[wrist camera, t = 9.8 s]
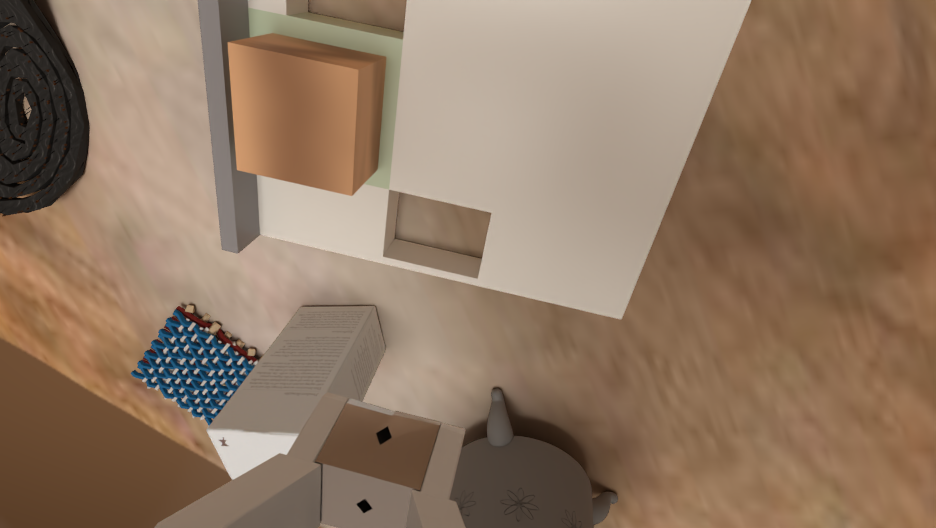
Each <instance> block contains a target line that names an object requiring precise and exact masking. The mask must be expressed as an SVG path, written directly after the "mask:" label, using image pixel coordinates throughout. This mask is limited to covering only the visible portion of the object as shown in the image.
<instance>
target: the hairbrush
mask: <svg viewBox="0 0 936 528" xmlns="http://www.w3.org/2000/svg"><path fill="white" fill-rule="evenodd" d="M9 23H15V24H16V25H17V26H12V25H8V24H9ZM6 25H8V26H6ZM5 26H6V27H5ZM3 27H4V28H3ZM1 28H2V29H1ZM12 47H18V48H19V49H16V48H12ZM22 48H23V49H22ZM7 51H8V53H7V54H6V52H7ZM5 54H6V55H5ZM66 58H67V59H68V61H69V62H70V64H71V65H72V67H73V69H74V71H75V74H76V76H77V78H76V76H75V74H74V73H73V71H72V69H71V67H70V65H69V63H68V61H67V59H66ZM18 77H21V78H27V79H15V78H18ZM77 79H78V80H77ZM78 81H79V82H78ZM24 93H25V96H26V98H27V100H28V102H29V105H30V107H31V109H32V111H31V114H30V117H29V119H28V120H27V118H26V116H25V115H26V114H27V113H26V114H25V113H24V110H23V107H22V103H23V99H24V97H25V96H24ZM23 106H24V104H23ZM30 107H29V108H30ZM29 108H28V109H29ZM26 110H27V109H26ZM29 112H30V111H29ZM29 112H28V113H29ZM24 116H25V118H24ZM25 119H26V121H25ZM25 122H27V124H25ZM88 138H90V137H89V121H88V115H87V109H86V103H85V97H84V92H83V90H82V86H81V82H80V79H79V75H78V72H77V70H76V68H75V66H74V64H73V62H72V60H71V58H70V57H69V55H68V53H67V52H66V50H65V48H64V47H63V45H62V43H61V42H60V40H59V39H58V37H57V35H56V34H55V32H54V31H53V29H52V27H51V26H50V24H49V23H48V21H47V20H46V18H45V17H44V15H43V14H42V12H41V11H40V9H39V8H38V6H37V5H36V3H35V2H34V0H0V214H1V213H2V214H3V216H6V215H11V214H17V213H23V212H25V213H29V212H32V211H35V210H40V209H41V208H44V207H47V206H50V205H52V204H53V203H54V202H55V201H56V200H57V199H58V198H59V197H60V196H61V195H62V194H63V193H64V192H65V191H66V190H67V189H68V188H69V187H70V186H71V185H72V184H73V183H74V182H75V181H76V180H77V179H78V178H80V177H81V176H82V175H83V171H84V167H85V162H86V158H87V152H88V146H87V145H89V142H88ZM28 157H30V159H28V160H25V161H22V160H21V159H25V158H28ZM37 175H38V176H37ZM36 176H37V177H36ZM34 177H35V178H34ZM27 180H29V181H27ZM20 181H27V182H25V183H23V184H17V182H20ZM50 184H51V185H50ZM49 185H50V186H49ZM48 186H49V187H48ZM42 189H43V190H42ZM39 190H42V191H40V192H38V193H36V194H34V195H32V196H29V197H25V198H17V197H18V196H23V195H26V194H30V193H33V192H36V191H39ZM3 216H2V217H3Z"/></svg>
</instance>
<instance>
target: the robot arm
mask: <svg viewBox="0 0 936 528" xmlns="http://www.w3.org/2000/svg"><path fill="white" fill-rule="evenodd" d="M464 436H465V429H464V428H460V427H456V426H453V425H449V424H445V423H442V424H441V422H439V421H435V420H431V419H427V418H423V417H419V416H415V415H411V414H407V413H403V412H399V411H392V410H389V409H385V408H382V407H379V406H375V405H372V404H368V403H365V402H362V401H358V400H355V399H351V398H347V397H344V396H340V395H337V394H333V393H329V392H327V393H325V394H324V395H323V396H322V397H321V399H320V400H319V402H318V404H317V405H316V407H315V408H314V410H313V412H312V413H311V415H310V417H309V418H308V420H307V422H306V423H305V425H304V427H303V428H302V430H301V432H300V433H299V435H298V437H297V438H296V440H295V442H294V443H293V445H292V447H291V448H290V450H289V452H288V453H287V455H285V454H281V453H279V454H277V455H275V456H274V457H272V458H270V459H268V460H267V461H265V462H263V463H261V464H260V465H258V466H256V467H254V468H253V469H251V470H249V471H248V472H246V473H244V474H242V475H241V476H239V477H237V478H235V479H234V480H232V481H231V482H229V483H227V484H225V485H223V486H222V487H220V488H218V489H216V490H215V491H213V492H211V493H209V494H208V495H206V496H204V497H202V498H201V499H199V500H197V501H195V502H194V503H192V504H190V505H189V506H187V507H185V508H184V509H182V510H180V511H178V512H176V513H175V514H173V515H171V516H169V517H168V518H166V519H164V520H162V521H161V522H159V523H158V524H157V525H156V527H155V528H318V527H319V526H320V523H322V524H326V525H330V526H334V527H338V528H466V527H465V525H464V522H463V519H462V516H461V514H460V511H459V508H458V505H457V503H456V502H455V501H452V500H449V498H450V494H451V490H452V486H453V482H454V478H455V473H456V469H457V465H458V461H459V457H460V453H461V448H462V444H463V440H464Z"/></svg>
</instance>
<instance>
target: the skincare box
mask: <svg viewBox="0 0 936 528" xmlns="http://www.w3.org/2000/svg"><path fill="white" fill-rule="evenodd" d="M384 353H385V344H384V340H383V336H382V332H381V328H380V324H379V320H378V316H377V312H376V308H375V306H333V307H300V308H299V310H298V311H297V312H296V314H295V315H294V316H293V317H292V319H291V320H290V321H289V323H288V324H287V325H286V327H285V328H284V329H283V330H282V332H281V333H280V334H279V336H278V337H277V338H276V340H275V341H274V342H273V344H272V345H271V346H270V347H269V349H268V350H267V351H266V353H265V354H264V355H263V356H262V358H261V359H260V360H259V362H258V363H257V364H256V366H255V367H254V368H253V370H252V371H251V372H250V373H249V375H248V376H247V377H246V379H245V380H244V381H243V383H242V384H241V385H240V387H239V388H238V389H237V390H236V392H235V393H234V394H233V396H232V397H231V398H230V400H229V401H228V402H227V403H226V405H225V406H224V407H223V409H222V410H221V411H220V413H219V414H218V415H217V416H216V418H215V419H214V420H213V422H212V423H211V424H210V426H209V427H208V428H207V433H208V435H209V437H210V439H211V441H212V442H213V444H214V446H215V448H216V450H217V452H218V454H219V456H220V458H221V460H222V462H223V464H224V466H225V468H226V470H227V472H228V473H229V475H230V477H231V479H233V480H234V479H235V478H237V477H239V476H241V475H242V474H244V473H246V472H248V471H249V470H251V469H253V468H254V467H256V466H258V465H260V464H261V463H263V462H265V461H267V460H268V459H270V458H272V457H274V456H275V455H277V454H279V453H281V454H285V455H287V453H288V452H289V450H290V448H291V447H292V445H293V443H294V442H295V440H296V438H297V437H298V435H299V433H300V432H301V430H302V428H303V427H304V425H305V423H306V422H307V420H308V418H309V417H310V415H311V413H312V412H313V410H314V408H315V407H316V405H317V404H318V402H319V400H320V399H321V397H322V396H323V395H324V394H325V393H327V392H329V393H333V394H337V395H340V396H344V397H347V398H351V399H355V400H358V401H363V399H364V397H365V394H366V392H367V390H368V388H369V386H370V383H371V381H372V379H373V377H374V375H375V372H376V370H377V368H378V366H379V364H380V361H381V359H382V357H383V355H384Z"/></svg>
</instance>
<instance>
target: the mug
mask: <svg viewBox="0 0 936 528" xmlns="http://www.w3.org/2000/svg"><path fill="white" fill-rule="evenodd" d="M491 396H492V404H491V408H490V412H489V417H488V422H487V437H486V438H482V439H479V440H476V441H473V442H471V443H469V444H467V445H465V446H464V447H462V448H461V453H460V457H459V461H458V465H457V469H456V473H455V478H454V482H453V486H452V490H451V494H450V498H449V500H452V501H455V502H456V503H457V505H458V508H459V511H460V514H461V516H462V519H463V522H464V525H465V527H466V528H594V525H595V524H598V523H600V522H601V521H603V520H604V519H605V518H606V516H607V514H608V512H609V509H610V504H611V503H612V504H614V503H616V502H617V501H618V496H617V495H616V494H615V493H613V492H603V493H601V494H600V495H599V496H598V497H596V498H592V488H591V483H590V481H589V478H588V476H587V474H586V472H585V471H584V469H583V468H582V467H581V466H580V464H579V463H578V462H577V461H576V460H575V459H573V458H572V457H571V456H570V455H568V454H567V453H566V452H564V451H562V450H561V449H559V448H557V447H555V446H553V445H551V444H548V443H546V442H543V441H540V440H537V439H533V438H529V437H523V436H514V435H513V430H512V427H511V424H510V420H509V417H508V414H507V410H506V406H505V402H504V398H503V394H502V391H501V390H500V389H498V388H496V389H493V390H492V392H491Z"/></svg>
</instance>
